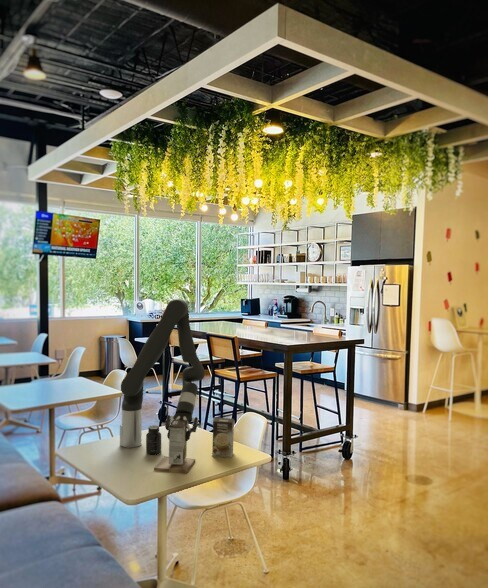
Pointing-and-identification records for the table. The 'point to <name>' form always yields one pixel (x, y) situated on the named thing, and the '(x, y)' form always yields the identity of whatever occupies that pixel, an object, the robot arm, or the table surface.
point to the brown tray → (174, 465)
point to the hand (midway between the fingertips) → (177, 439)
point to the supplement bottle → (153, 441)
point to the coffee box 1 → (177, 441)
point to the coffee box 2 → (223, 437)
